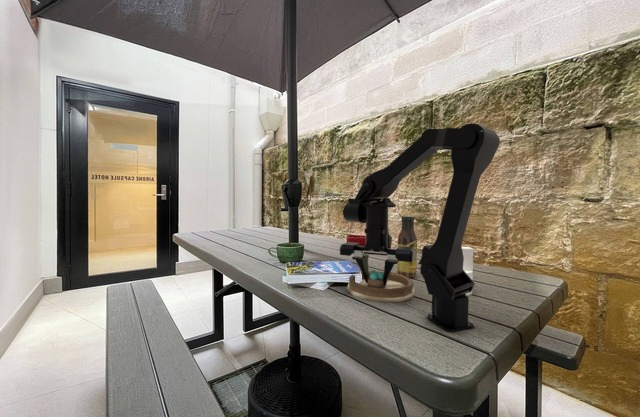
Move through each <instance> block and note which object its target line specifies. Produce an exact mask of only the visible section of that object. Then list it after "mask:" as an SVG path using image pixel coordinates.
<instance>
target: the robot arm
mask: <svg viewBox="0 0 640 417" xmlns="http://www.w3.org/2000/svg"><path fill="white" fill-rule="evenodd" d="M499 146H500V136H499V135H498V134H497V132H496V131H495V130H493V129H492V128H488V127H486V126H483V125H481V124H478V123H473V122H472V123H467V124H465V125H462V126H461V127H443V128H442V127H441V128H433V127H430V128H427V129H425V130H423V131H422V133H421V136H419V137H418V138H417V139H416V140H415V141H414V142H413V143H411V144H410V145H409V146H408V147H407V148H406V149H405V150H404V151H403V152H401V154H399V155H398V156H397V157H396V158H395V159H394V160H392V162H390V163H389V164H388V165H387V166H385V167H384V168H381V169H379V170H376V171H374V172H372V173H371V174H369V175H368V176H366V177H365V178H364V179H363V180H362V184H361V187H360V188H359V190H358V191H357V194H356V196H355V197H354V198H348V199H347V200H348V202H347V203H346V204H345V206H344V207H343V209H342V216H343V218H344V220H345V221H346V222H348V223H356V224H358V223H359V224H365V228H364V233H365V244H364V245H360V242H353V241H352V242H351V241H348V242H345V243H342V244H341V245H340V246H339V255H340V256H348V257H350V256H352V255H353V256H352V257H351V258H352V259H351V260H355V262H356V264H357V266H358V267H359V269H360V271H361V272H362V274H363V277H364V279H365V281H366V283H368V277H369V272H370V271H369V256H370V255H377V256H386V257H387V259H386V260H384V268H383V270H384V271H383V272H384V286H386V284H387V281H388V278H389V275H390V273H392V270H393V267H394V266H395V265H397V263H398V262H399V261H404V262H413V260H414V259H415V249H414V248H413V247H404V246H399V247H398V248H397V247H396V248H392V243H393V242H392V240H393V237H392V236H391V235H390V231H389V208H396V206H397V205H396V204H395V203H394V202H393V201H392V200H391V198H390V197H391V195H393V193H395V191H396V190H397V189H398V186H399V184H400V182H401V181H402V180H403V179H404V178H405V177H407V176H408V175H409V174H411V173H412V172H413V171H414V170H415V169H416V168H418V167H419V166H420V165H422V164H423V163H424V162H426V161H427V160H428V159H429V158H430V157H432V156H433V155H434V154H435V153H437V152H438V151H439V150H450V160H451V164H452V165H451V166H452V168H453V169H452V170H453V172H452V178H451V181H450V186H449V187H448V188H449V189H448V193H447V198H446V200H445V205H444V209H443V213H442V217H441V221H440V224H439V227H438V228H439V229H438V231H437V236H436V239H435V241H434V243H432V244H428V245H425V246H424V245H423V247H422V248H421V249H422V250H421V258H420V260H419V262H417V265H420V268H419V271H420V275H421V276H422V278H423V280H424V283H425V288H426V291H427V293H428V295H431V314H430V315H429V314H428V315H426V319H427V320H429V321H430V322H432V323H434V324H435V325H437V326H439V327H440V328H442V329H444V330H445V331H447V332H449V333H450V332H456V331H462V330H467V329H471V328H475V324H474V323H472V322H470V321H469V305H470V304H469V303H470V302H469V300H470V299H469V296H468V295H467V296H466V293H468V292H471V291H472V292H473V289H474V288H475V286H476V285H475V284H476V283H475V282H474V281H472V280H471V278H470V277H469V276H468V275H467V274H466V272H465V271H464V270H463V261H464V257H463V252H462V247H463V246H462V244H463V240H464V237H465V232H466V230H467V226H468V221H469V218H470V215H471V211H472V207H473V204H474V200H475V197H476V192H477V189H478V187H479V186H478V185H479V182H480V179H481V176H482V175H483V173H484V172H485V171H486V169H487V168H488V167H489V166H490V164H491V163H492V161H493V160H494V157H495V155H496V153H497V151H498V148H499Z"/></svg>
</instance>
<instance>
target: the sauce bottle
mask: <svg viewBox="0 0 640 417" xmlns="http://www.w3.org/2000/svg"><path fill="white" fill-rule="evenodd" d="M414 221H415V216H413V215H401V230H400V232H399V234H398V236H397V247H396V249H397V248H398V247H399V246H404V247H413V248H414V249H415V259H414V260H413V262H404V261H399V262H398V263H397V264H396V270H397V271H396V274H399V275H403V276H405V277H407V278H409V279H412V278H416V276H417V265H418V239H417V235H416V233H415V229H414V224H415V223H414Z"/></svg>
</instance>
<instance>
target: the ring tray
mask: <svg viewBox="0 0 640 417" xmlns="http://www.w3.org/2000/svg"><path fill="white" fill-rule="evenodd" d="M371 271H372V270H371ZM371 271H369V277H370V272H371ZM376 272H377V273H378V272H379V271H376ZM382 272H383V273H384V271H382ZM361 274H362V272H361ZM348 279H349V280H348V281H349V282H348V284H347V292H348V293H349V294H350V295H352V296H354V297H355V298H358V299H361V300H364V301H369V302H373V303H384V304H385V303H386V304H387V303H402V302H406V301H409V300H411V299H413V298H414V297H415V288H414V282H413V281H412V278H407V277H405V276H403V275H399V274H397V273H393V272H391V273H390V275H389V278H388V281H387V284H386V286H385V288H374V287H368V283H366V281H365V279H364V277H363V274H362V281H361V282H360V283H356V282H355V276H354V275H353V274H351V275H350V276H349V277H348Z"/></svg>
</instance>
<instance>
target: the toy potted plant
mask: <svg viewBox="0 0 640 417" xmlns="http://www.w3.org/2000/svg"><path fill="white" fill-rule="evenodd" d="M369 272H370V271H369ZM377 272H378V273H377ZM383 272H384V271H377V270H371V272H370V277H368V287H374V288H385V286H384V273H383Z"/></svg>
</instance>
